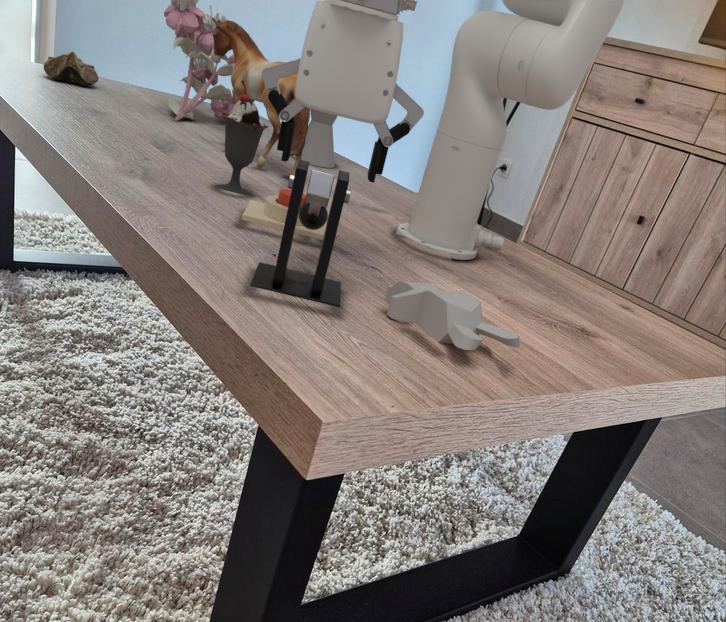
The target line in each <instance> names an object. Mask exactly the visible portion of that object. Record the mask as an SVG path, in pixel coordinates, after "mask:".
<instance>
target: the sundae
mask: <svg viewBox="0 0 726 622" xmlns="http://www.w3.org/2000/svg"><path fill="white" fill-rule="evenodd" d="M241 83H242V84H243V86H244V87H245V94H242V95H241V96H240V99H239V101H238V102H237V103H236V104H235V106H234V107H233V108H232V110H231V111H230V113H222V114H221V118H222V119H221V120H222V121H224V130H225V132H224V133H225V134H224V156H225V159H226V161H227V162H228V163H229V164H230V166H231V168H232V173H231V177H230V180H229V181H228V183H226V184H219V185H217V186H216V187H215V188H216V189H219V190H222V191H226V192H230V193H234V194H238V195H242V196H246V197H250V196H251V193H250V192H249V191H248V190H246V189H245V188H243V187H242V185H241V173H242V170H243V169H244V168H247V167H249V165H251V164H252V163H253V162H254V159H255V156H256V154H257V151H258V147H259V145H260V141H261V138H262V136H263V132H264V131H265V130H266V129H267V128H269V127H270V126H269V125H268V126H267V125H266V124H265V123H264V121H263V120H262V118H261V117H260V113H259V110H258V106H257V105H256V103H254V102H255V101H254V102H252V101H251V100H250V99H249V97H248V96H247V95H246V94H247V92H246V86H245V84H244V80H241Z"/></svg>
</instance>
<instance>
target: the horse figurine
mask: <svg viewBox="0 0 726 622" xmlns="http://www.w3.org/2000/svg"><path fill="white" fill-rule="evenodd" d="M212 20H213V21H214V23H215V24H216V28H215V30H214V32H213V38H214V43H213V49H212V53H211V55H210V58H211V59H212V60H213V62H214V64H216V63H218V64H219V63H221V60H222V59H221V58H222V57H223V56H224V55H226V54H228V52H230V51H232V55H233V54H234V60H235V67H234V69H233V71H232V75H230V82H231V87H232V89H233V90H234V92H235V100H236V103H237V102H238V101H239V99H240V96H241V95H242V94H245V87H244V86H243V84H242V83H241V80H244V84H245V86H246V92H247V94H246V95H247V96H248V97H249V99H250V100H251V101H252V102H259V103H261V104H263V107H264V108H265V111H266V117H267V119H268V121H269V123H270V124H271V126H272V128H273V130H272V134H271V137H270V139H269V141H268V142H267V143H266V145H264V147H262V149H261V151H260V155H259V157H258V159H257V162H256V168H258V169H261V168H264V167H265V166H266V162H267V161H266V156H267V155H268V154H269V153H270V152H271V150H272V148H273V147H274V145H275V144H276V142H278V140H279V134H280V128H281V122H282V121H281V119H280V117H279V115H278V113H277V112H276V110H275V108H274V107H273V105H272V104H271V102H270V101H269V99H268V94H267V90H266V88H265V84H264V81H263V78H262V71H263V70H264V69H265V68H268V67H271V66H275V65H279V64H282V63H286V62H287V61H285V62H284V61H272V62H271V61H270V60H268V59H267V58H266V57H265V56H264V54H263V52H262V51H261V50H260V48H259V46H258V45H257V44H256V42H255V41H254V39H252V37H251V36H250V34H249V33H248V32H247V31H246V30H245V28H244V27H242V25H239V24H238V23H237V22H235V21H233V20H230V19H227V21H225V22H221V21H220V20H221V19H220V20H218V21H216V20H215V19H214V17H213V18H212ZM296 79H297V74H293V75H290V76H286V77H283V78H279V79H278V87H279V90H280V92H281V94H282V96H283V97H284V99H285V100H286V102H287V103H290V102H291V101H292V100H293V99H294V98H295V85H296ZM310 118H311V110H310V108H307V107H305V108H304V109H302V110H301V111H300V112H299V113H298V114H296V115H295V118H294V121H295V122H296V125H295V131H294V136H293V142H292V148H291V153H290V157H291V156H292V155H295V156H296V158H295V160H294V165H293V167H292V168H291V169H290V170H289V171H288V172H287V174H286V177H287V178H288V177H290V174H295V172H296V168H297V165H298V163H299V160H301V157H302V151H303V148H304V145H305V138H306V135H307V132H308V125H309V123H310Z"/></svg>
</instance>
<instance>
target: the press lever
mask: <svg viewBox="0 0 726 622" xmlns="http://www.w3.org/2000/svg"><path fill="white" fill-rule="evenodd" d="M334 180H335V174H332V173H328V172H324V171H320V170H316V169H311V171H310V176H309V180H308V185H307V189H306V194H305V195H306V199H305V203H303V204H302V206H301V207H300V209H299V220H300V222H301V224H302V225H303V226H304V227H306V228H307V229H310V230H317V229H320V228H321V227H323V226H324V225H325V223H326V221H327V219H328V216H329V212H328V208H327V207H328V205H329V202H330V197H331V193H332V188H333V184H334Z"/></svg>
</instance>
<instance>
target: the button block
mask: <svg viewBox="0 0 726 622" xmlns="http://www.w3.org/2000/svg"><path fill="white" fill-rule="evenodd" d="M278 196H279V194H278V195H277V194H274V195H267V196H266V198H265V201H264V202H261V201H257V200H254V199H250V200H249V202H248V204H247V206H246V208H245V210H244V212H243V213H242V214H241V221H245V222H248V223H252V224H256V225H260V226H265V227H267V228H268V227H269V228H273V229H276V230H280V231H283V229H284V225H285V220H286V215H287V210H288V207H286V206H283V205H281V204H278V203H277V201H278ZM327 220H328V218H327ZM326 225H327V221H326V223H325V225H324V226H323V227H321V228H320V229H317V230H310V229H307V228H306V227H304V226H303V225H302V224H301V222H300V220H299V213H298V218H297V223H296V227H295V232H294V234H296V235H301V236H304V237H309V238H312V239H317V240H321V241H323V237H324V233H325V229H326Z"/></svg>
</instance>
